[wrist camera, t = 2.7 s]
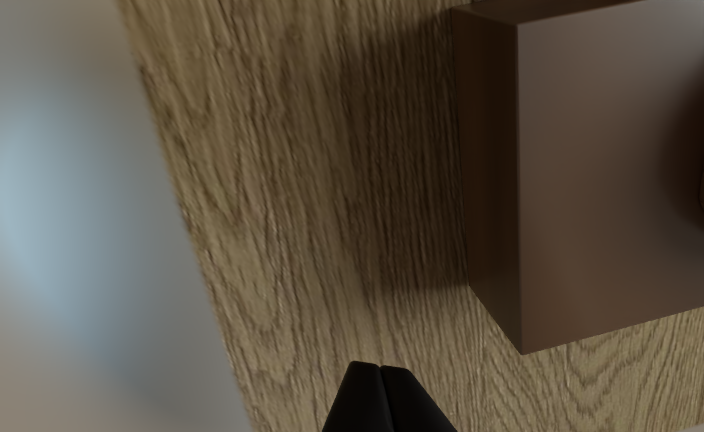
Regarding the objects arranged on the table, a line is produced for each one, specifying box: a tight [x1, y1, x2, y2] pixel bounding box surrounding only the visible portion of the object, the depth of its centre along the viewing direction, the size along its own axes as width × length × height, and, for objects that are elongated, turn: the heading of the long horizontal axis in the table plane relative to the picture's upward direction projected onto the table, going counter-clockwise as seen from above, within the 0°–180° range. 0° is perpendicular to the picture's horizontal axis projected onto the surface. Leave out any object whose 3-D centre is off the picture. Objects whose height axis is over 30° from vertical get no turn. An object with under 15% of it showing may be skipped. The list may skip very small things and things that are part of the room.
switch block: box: [451, 0, 704, 355], centre depth 17 cm, size 12×10×6 cm
